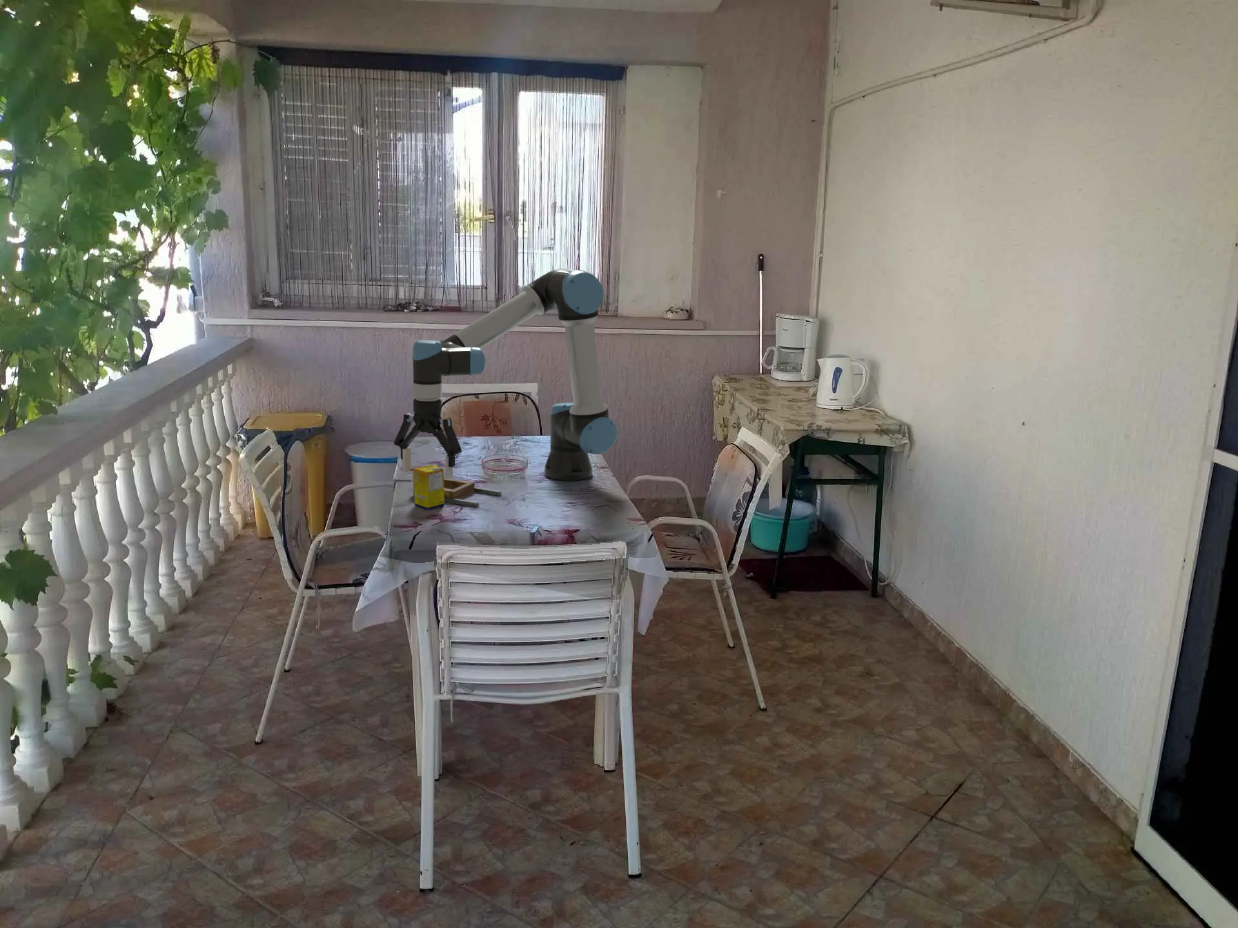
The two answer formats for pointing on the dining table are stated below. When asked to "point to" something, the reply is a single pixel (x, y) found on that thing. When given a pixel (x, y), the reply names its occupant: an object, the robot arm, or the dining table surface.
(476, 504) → the track
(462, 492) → the tray
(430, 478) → the supplement box
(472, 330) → the robot arm
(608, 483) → the dining table surface
